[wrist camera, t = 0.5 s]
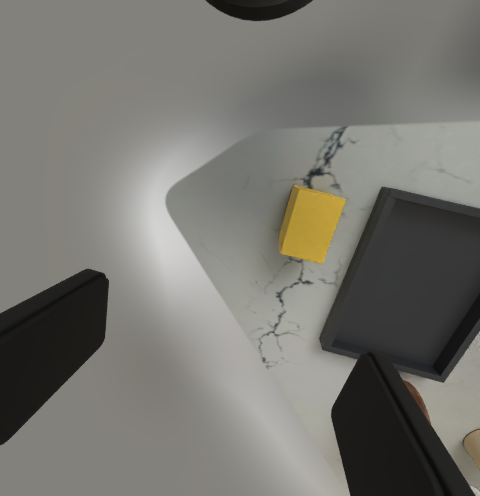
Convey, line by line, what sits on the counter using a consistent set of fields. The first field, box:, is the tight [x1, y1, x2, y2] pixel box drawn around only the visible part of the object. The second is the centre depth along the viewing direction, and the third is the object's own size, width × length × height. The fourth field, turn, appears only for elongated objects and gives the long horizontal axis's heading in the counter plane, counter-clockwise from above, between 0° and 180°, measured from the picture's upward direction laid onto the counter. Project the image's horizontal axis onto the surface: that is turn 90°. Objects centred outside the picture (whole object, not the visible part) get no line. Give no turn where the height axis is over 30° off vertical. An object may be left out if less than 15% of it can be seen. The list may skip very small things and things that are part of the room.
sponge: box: [278, 185, 346, 264], centre depth 23 cm, size 4×6×6 cm, turn 167°
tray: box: [319, 187, 480, 383], centre depth 26 cm, size 20×15×2 cm
